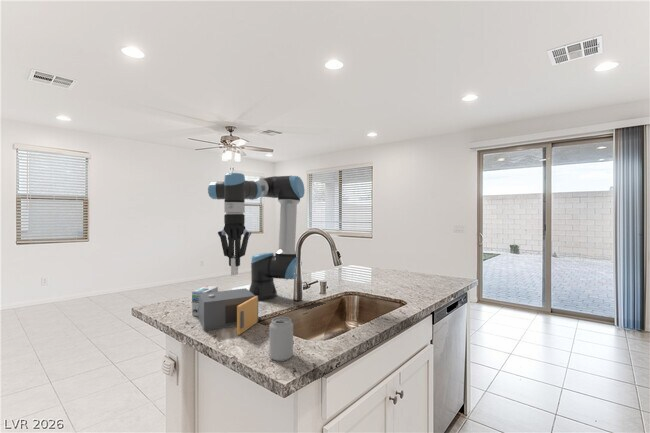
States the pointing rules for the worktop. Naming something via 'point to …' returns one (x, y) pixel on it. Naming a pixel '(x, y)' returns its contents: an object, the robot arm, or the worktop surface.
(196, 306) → the light bulb box
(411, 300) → the worktop surface
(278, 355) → the can
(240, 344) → the worktop surface
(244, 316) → the orange cabinet door
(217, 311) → the grey microwave
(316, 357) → the worktop surface
